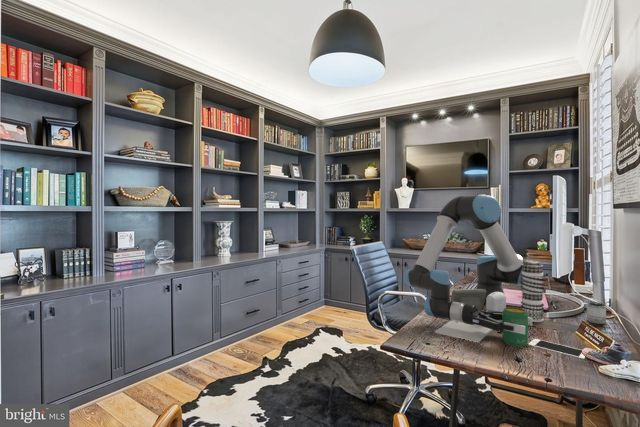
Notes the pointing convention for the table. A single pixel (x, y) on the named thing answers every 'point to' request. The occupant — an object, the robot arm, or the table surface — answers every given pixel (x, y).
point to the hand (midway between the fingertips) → (528, 325)
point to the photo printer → (496, 302)
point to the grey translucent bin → (470, 297)
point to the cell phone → (557, 348)
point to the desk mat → (464, 331)
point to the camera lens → (596, 312)
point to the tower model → (532, 290)
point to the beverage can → (515, 317)
